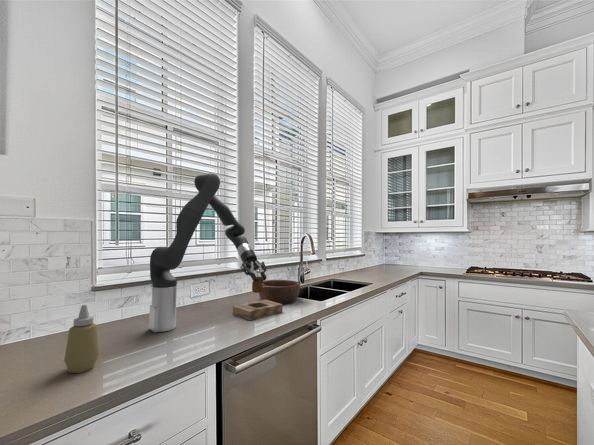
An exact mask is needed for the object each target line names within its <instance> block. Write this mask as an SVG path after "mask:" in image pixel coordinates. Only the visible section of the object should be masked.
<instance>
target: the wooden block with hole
mask: <svg viewBox="0 0 594 445" xmlns="http://www.w3.org/2000/svg"><path fill="white" fill-rule="evenodd" d="M283 305H284V304H280V303H276V302H272V301H269V300H261V299H260V300H256V301H250V302H247V303H246V302H245V303H239V304H236V305H232V315H233V316H236V317H238V318H242V319H245V320H247V321H253V320H257V319H261V318H265V317H269V316H270V317H271V316H274V315H277V314H278V315H279V314H281V313H283V311H284V310H283Z"/></svg>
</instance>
